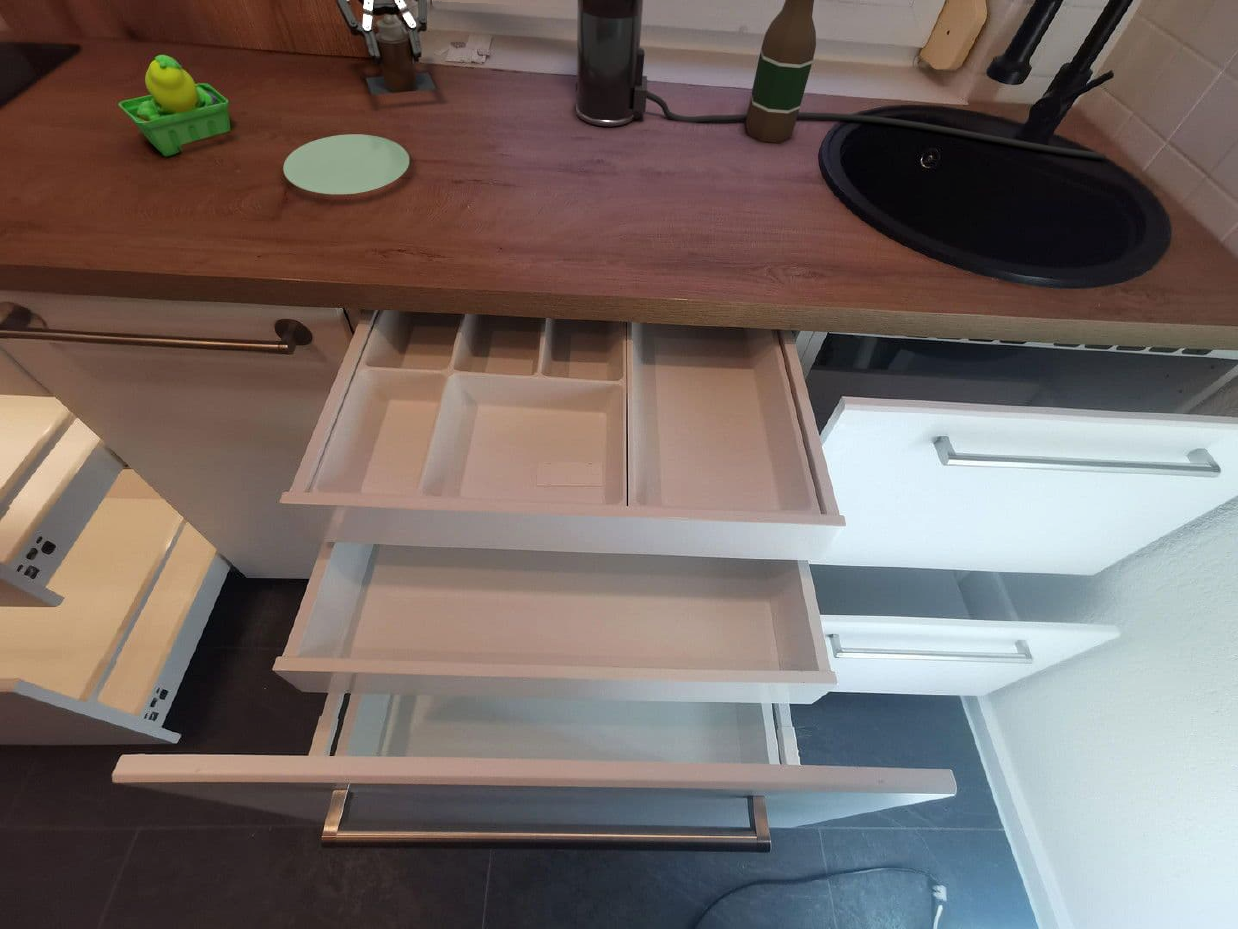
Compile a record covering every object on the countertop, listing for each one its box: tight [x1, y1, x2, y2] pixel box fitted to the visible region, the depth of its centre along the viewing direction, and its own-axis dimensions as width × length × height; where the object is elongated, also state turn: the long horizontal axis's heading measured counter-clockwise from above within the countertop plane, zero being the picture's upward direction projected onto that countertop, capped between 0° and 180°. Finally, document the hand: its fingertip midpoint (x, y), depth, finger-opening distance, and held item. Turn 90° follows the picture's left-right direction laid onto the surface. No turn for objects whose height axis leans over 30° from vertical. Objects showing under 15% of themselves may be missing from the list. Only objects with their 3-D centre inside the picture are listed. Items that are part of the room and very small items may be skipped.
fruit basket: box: [118, 54, 232, 157], centre depth 81 cm, size 11×9×11 cm
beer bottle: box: [745, 0, 817, 144], centre depth 88 cm, size 8×8×24 cm
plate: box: [282, 133, 410, 195], centre depth 83 cm, size 16×16×1 cm
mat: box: [365, 72, 437, 96], centre depth 98 cm, size 10×10×1 cm
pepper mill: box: [375, 14, 418, 94], centre depth 94 cm, size 5×5×10 cm
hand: (397, 60), depth 94 cm, fingers closed on pepper mill, 5 cm apart
